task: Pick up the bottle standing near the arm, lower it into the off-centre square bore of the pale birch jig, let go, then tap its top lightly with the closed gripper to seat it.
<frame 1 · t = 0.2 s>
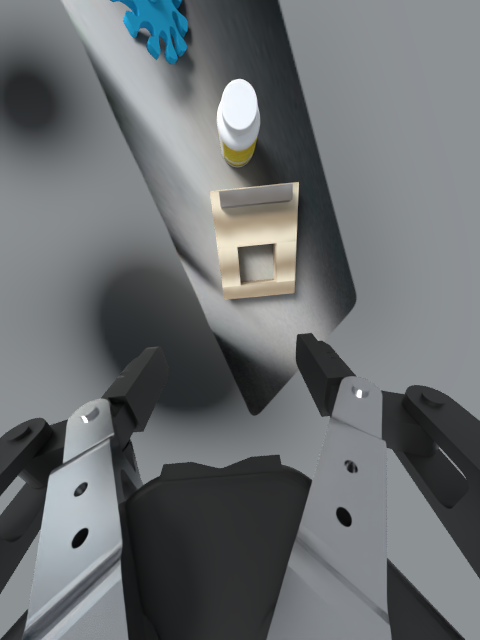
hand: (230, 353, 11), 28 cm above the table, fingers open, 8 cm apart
blue lobed piece: (158, 22, 23), on the table
supplement bottle: (237, 147, 29), on the table
jig: (255, 247, 35), on the table
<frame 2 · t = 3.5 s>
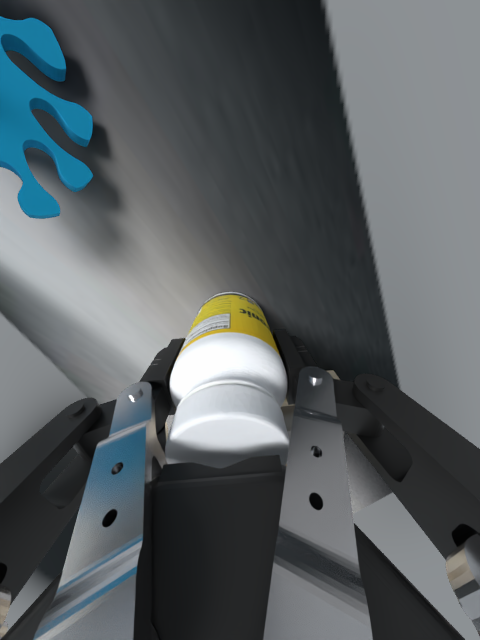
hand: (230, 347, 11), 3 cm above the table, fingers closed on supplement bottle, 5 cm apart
blue lobed piece: (20, 108, 9), on the table
supplement bottle: (231, 321, 15), on the table, touching gripper
jig: (262, 435, 21), on the table
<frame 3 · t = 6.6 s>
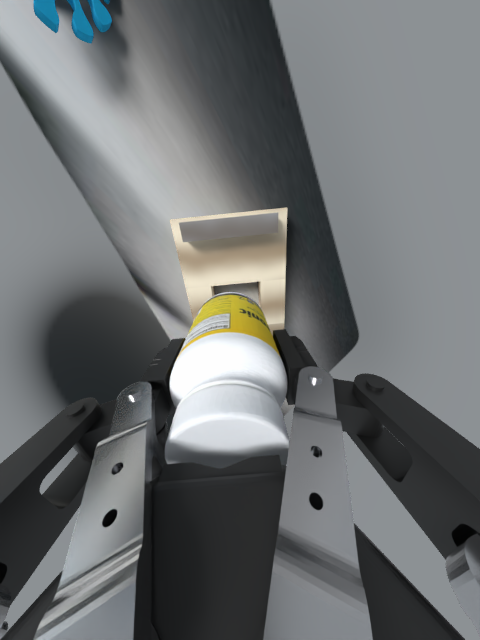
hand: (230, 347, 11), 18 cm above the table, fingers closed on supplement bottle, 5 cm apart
supplement bottle: (231, 321, 15), point 15 cm above the table, touching gripper
jig: (235, 281, 28), on the table
when the fingers open (4 cm above the table, at t = 9.7 s): supplement bottle stays where it is, resting in jig.
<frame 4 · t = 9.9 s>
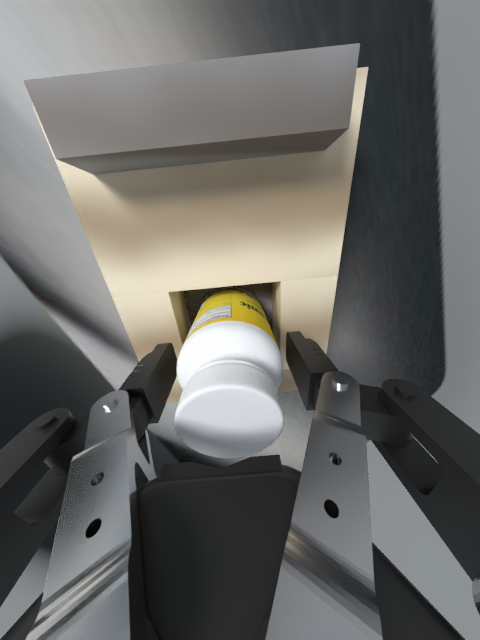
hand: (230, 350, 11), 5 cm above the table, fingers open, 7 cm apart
supplement bottle: (231, 315, 15), resting in jig
jig: (227, 282, 14), on the table
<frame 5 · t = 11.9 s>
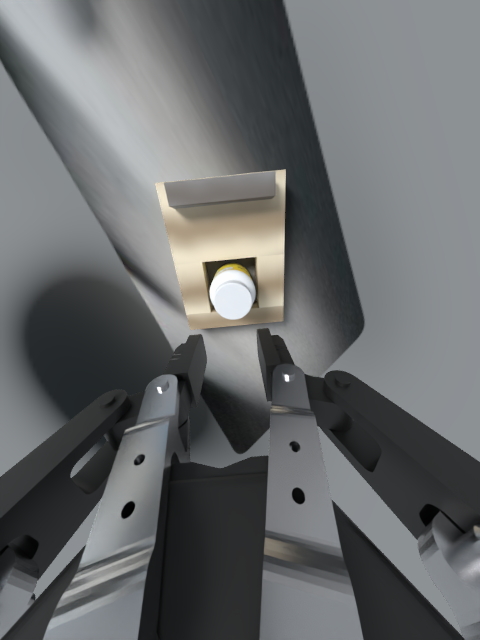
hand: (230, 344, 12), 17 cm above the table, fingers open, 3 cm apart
supplement bottle: (232, 280, 27), resting in jig
jig: (230, 260, 26), on the table
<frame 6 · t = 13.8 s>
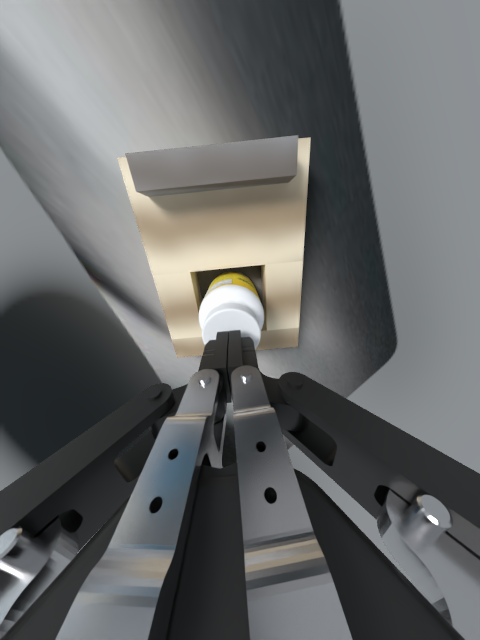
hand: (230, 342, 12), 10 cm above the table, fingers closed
supplement bottle: (232, 293, 21), resting in jig
jig: (228, 268, 20), on the table
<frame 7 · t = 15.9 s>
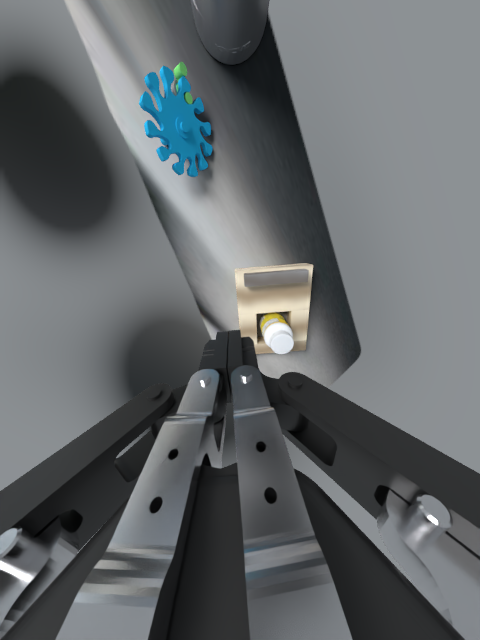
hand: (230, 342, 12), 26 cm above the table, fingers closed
blue lobed piece: (187, 139, 27), on the table
supplement bottle: (271, 321, 40), resting in jig
jig: (271, 309, 38), on the table
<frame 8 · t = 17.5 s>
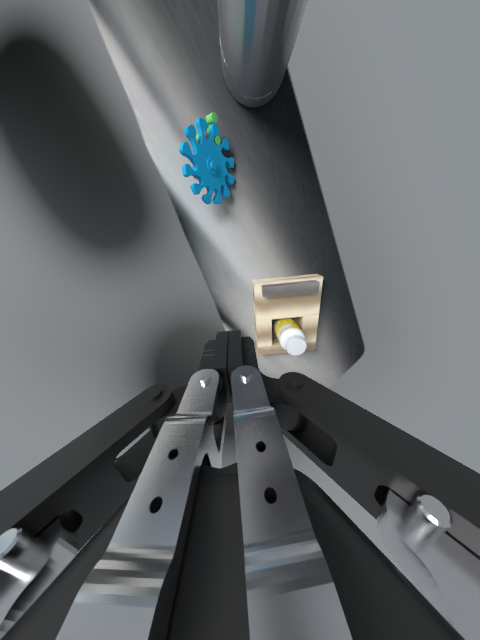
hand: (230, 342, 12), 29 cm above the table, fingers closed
blue lobed piece: (213, 170, 31), on the table
supplement bottle: (283, 324, 44), resting in jig
jig: (284, 314, 43), on the table
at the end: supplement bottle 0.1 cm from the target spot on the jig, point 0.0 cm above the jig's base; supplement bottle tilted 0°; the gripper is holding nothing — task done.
